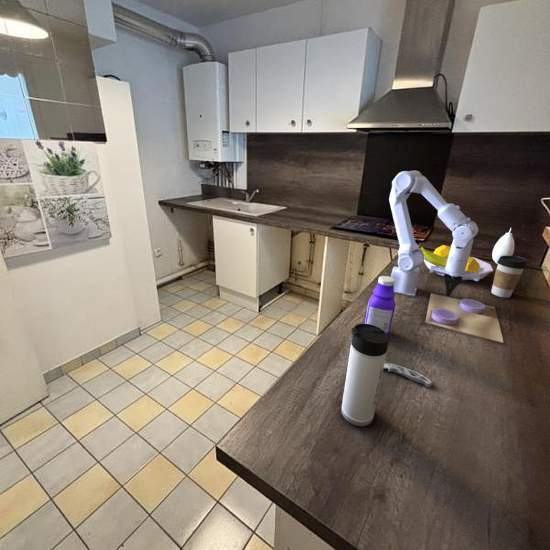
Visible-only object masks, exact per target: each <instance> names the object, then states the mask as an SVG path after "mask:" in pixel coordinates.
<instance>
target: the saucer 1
mask: <svg viewBox="0 0 550 550" xmlns="http://www.w3.org/2000/svg"><path fill="white" fill-rule="evenodd" d="M431 317H432V318H433V319H434V320H435V321H437V322H439V323H442V324H446V325H454V324H456V323H457V320H458V315H457V314H456V313H454V312H452V311H450V310H447V309H442V308H437V309H434V310H433V311H432V315H431Z"/></svg>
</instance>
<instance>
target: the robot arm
mask: <svg viewBox="0 0 550 550" xmlns="http://www.w3.org/2000/svg"><path fill="white" fill-rule="evenodd" d="M412 193H414V194H415V193H416V194H421V195H422V196H423V197H424V198H425V199H426V200H427V202H429V203H430V204H431V205H432V207H434V208H435V209H436V210H437V217H438V218H439V219H440V221H441V222H442V223H443V224H444V225H445V226H446V227H447V228H448V229H449V230H450V231H451V232H452V234H451V235H452V238H453V240H452V243H451V245H450V247H451V249H450V252H449V256H448V260H447V264H446V267H438V266H431V268H430V269H429V273H431V274H434V273H435V274H436V273H439V274H444V276H443V281H444V284H445V296H446V297H451V295H452V293H453V292H454V291H455V289H456V288H457V287H458V286H459V285H460V284H461V283H462V282H463V280H462V278H466V279H472V280H471V281H475V282H480V279H479V278H480V274H476V273H472V272H468V271H465V269H466V266H467V262H468V259H469V256H471V252H472V249H473V244H474V238H475V237H476V236H477V235H478V232H479V227H478V225H477V224H476V222H475V221H474V220H471V217H469V216H468V217H467V216H466V215H465V214H464V213H463V212H462V211H461V210H460V209H461V207H460V206H459V205H458V204H457V205H455V204H454V203H447V201H446V200H445V198H444V197H442V195H441V194H440V192H439V191H438V190H437V189H436V188H435V187H434V186H433V184H432V183H431V182H430V181H429V180H428V178H427V177H426V176H424V175H422V172H420V171H418V170H409V171H408V170H404V171H399V172H398V174H396V176H395V177H394V178H393V180H392V181H391V190H390V193H389V198H388V201H389V205H390V210H391V214H392V219H393V222H394V227H395V231H396V236H397V239H398V243H399V248H398V252H397V255H398V259H397V265H398V266H393V267H392V270H391V274H390V277H391V278H393V279H394V280H395V281H394V293H397V294H398V293H399V294H403V295H407V296H412V297H415V296H416V293H417V290H418V288H417V285H418V281H419V276H420V272H421V269H420V266H421V265H422V264H423V263H424V254H423V251H422V250H421V248H420V245H419V244H418V243H417V242H416V239H415V235H414V231H413V225H412V222H411V217H410V213H409V208H408V204H407V200H408V199H409V196H410V195H411V194H412ZM452 276H453V279H452Z"/></svg>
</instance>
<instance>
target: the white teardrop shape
mask: <svg viewBox="0 0 550 550" xmlns="http://www.w3.org/2000/svg"><path fill="white" fill-rule="evenodd" d="M514 253H515V239H514V236H513V233H512V227H510V229H509V231H508V232H505V234H504V235H502V236H501V237H500V238H499V239H498V241H497V242H496V243H495V245H494V246H493V249H492V253H491V255H492V256H491V258H492V260H493V262H494V263H495V264H496V265H498V263H497V262H498V260H499V258H500V256H514Z"/></svg>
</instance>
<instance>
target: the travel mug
mask: <svg viewBox="0 0 550 550" xmlns="http://www.w3.org/2000/svg"><path fill="white" fill-rule="evenodd" d="M350 333H351V334H352V337H351V342H350V347H349V354H348V355H349V356H348V361H347V368H346V376H345V382H344V390H343V395H342V401H341V402H342V403H341V409H340V411H341V414H342V416H343V418H344V420H346V422H348V423H350V424H352V425H354V426H357V427H367V426H369V425H370V424H371V423H372V422H373V420H374V417H375V412H376V407H377V401H378V397H379V392H380V388H381V384H382V383H381V382H382V379H383V373H384V370H385V369H384V364H385V361H386V360H387V359H386V358H387V354H388V347H389V343H390V337H389V334H388V335H387V334H386V333H384V331H383V330H382V329H381V328H379V327H376V326H374V325H370V324H365V323H357V324H355V325H354V327H352V328H351V331H350Z"/></svg>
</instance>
